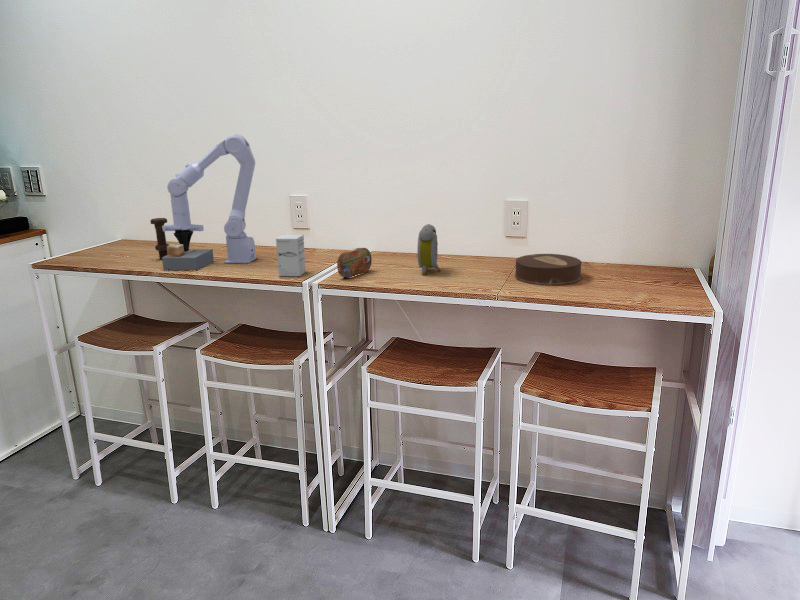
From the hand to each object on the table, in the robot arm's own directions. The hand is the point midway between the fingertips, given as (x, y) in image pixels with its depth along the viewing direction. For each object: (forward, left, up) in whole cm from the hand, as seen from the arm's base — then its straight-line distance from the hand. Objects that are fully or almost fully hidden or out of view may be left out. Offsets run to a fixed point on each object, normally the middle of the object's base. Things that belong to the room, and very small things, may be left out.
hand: (185, 251), depth 226 cm
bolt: (+12, -7, -5) cm, 15 cm away
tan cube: (0, +7, -1) cm, 7 cm away
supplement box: (-44, +13, -5) cm, 46 cm away
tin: (-65, +13, -5) cm, 66 cm away
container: (-125, +13, -5) cm, 126 cm away
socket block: (-3, +3, -4) cm, 6 cm away
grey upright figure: (-89, +8, -5) cm, 89 cm away
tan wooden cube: (0, 0, -4) cm, 4 cm away
